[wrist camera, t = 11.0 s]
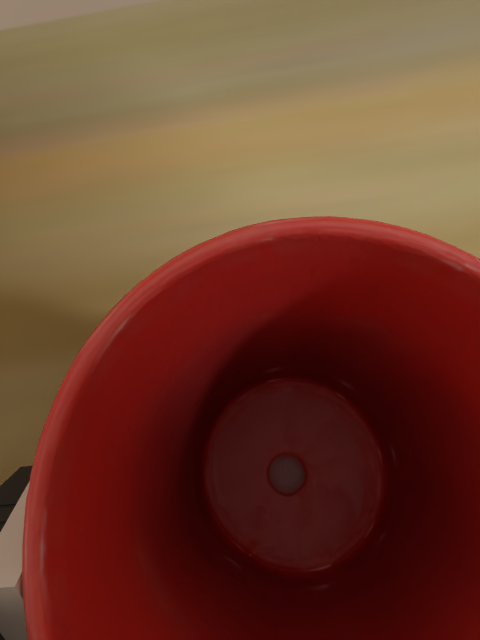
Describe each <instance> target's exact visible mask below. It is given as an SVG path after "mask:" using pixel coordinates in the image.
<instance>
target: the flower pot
mask: <svg viewBox="0 0 480 640" xmlns="http://www.w3.org/2000/svg"><path fill="white" fill-rule="evenodd" d="M22 587H23V602H24V614H25V624H26V633H27V639H28V640H480V259H479V258H477V257H475V256H473V255H471V254H469V253H467V252H465V251H463V250H461V249H459V248H457V247H455V246H453V245H450V244H448V243H446V242H443V241H441V240H439V239H436V238H434V237H431V236H429V235H426V234H423V233H420V232H417V231H413V230H410V229H407V228H403V227H400V226H396V225H391V224H387V223H382V222H378V221H371V220H363V219H353V218H345V217H331V216H328V217H302V218H292V219H280V220H273V221H268V222H263V223H258V224H254V225H249V226H245V227H242V228H239V229H236V230H233V231H230V232H227V233H225V234H222V235H220V236H218V237H215V238H213V239H210V240H208V241H205V242H203V243H201V244H198V245H196V246H194V247H193V248H191V249H189V250H187V251H185V252H183V253H182V254H180V255H178V256H176V257H174V258H173V259H171V260H170V261H168V262H167V263H165V264H164V265H163V266H161V267H160V268H158V269H157V270H155V271H154V272H153V273H151V274H150V275H149V276H148V277H147V278H145V279H144V280H142V281H141V282H139V283H138V284H137V285H136V286H135V287H134V288H133V289H132V290H131V291H130V292H128V293H127V294H126V295H125V296H124V297H123V298H122V299H121V300H120V302H119V303H118V304H117V305H116V306H115V307H114V308H113V309H112V310H111V311H110V312H109V314H108V315H107V316H106V317H105V318H104V319H103V321H102V322H101V323H100V324H99V325H98V327H97V328H96V329H95V330H94V332H93V333H92V334H91V336H90V337H89V338H88V339H87V341H86V342H85V344H84V345H83V347H82V348H81V350H80V352H79V353H78V355H77V357H76V358H75V360H74V362H73V364H72V365H71V367H70V369H69V370H68V372H67V374H66V376H65V378H64V380H63V382H62V384H61V387H60V389H59V391H58V393H57V395H56V397H55V400H54V402H53V405H52V408H51V410H50V413H49V415H48V418H47V420H46V423H45V425H44V428H43V431H42V434H41V437H40V440H39V444H38V448H37V451H36V455H35V459H34V463H33V467H32V471H31V475H30V483H29V489H28V493H27V497H26V505H25V516H24V530H23V544H22Z"/></svg>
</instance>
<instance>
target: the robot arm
mask: <svg viewBox="0 0 480 640" xmlns="http://www.w3.org/2000/svg"><path fill="white" fill-rule="evenodd" d="M32 467H33V466H27V467H20V468H19V469H18V470H17V471H16V472H15V473H14V474H13V475H12V476H11V477H10V478H9V479H8V480H6V481H5V482H4V483H3V484H2V485H1V486H0V640H28V639H27V633H26V624H25V614H24V602H23V587H22V544H23V530H24V516H25V505H26V497H27V493H28V489H29V483H30V475H31V471H32Z"/></svg>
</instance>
